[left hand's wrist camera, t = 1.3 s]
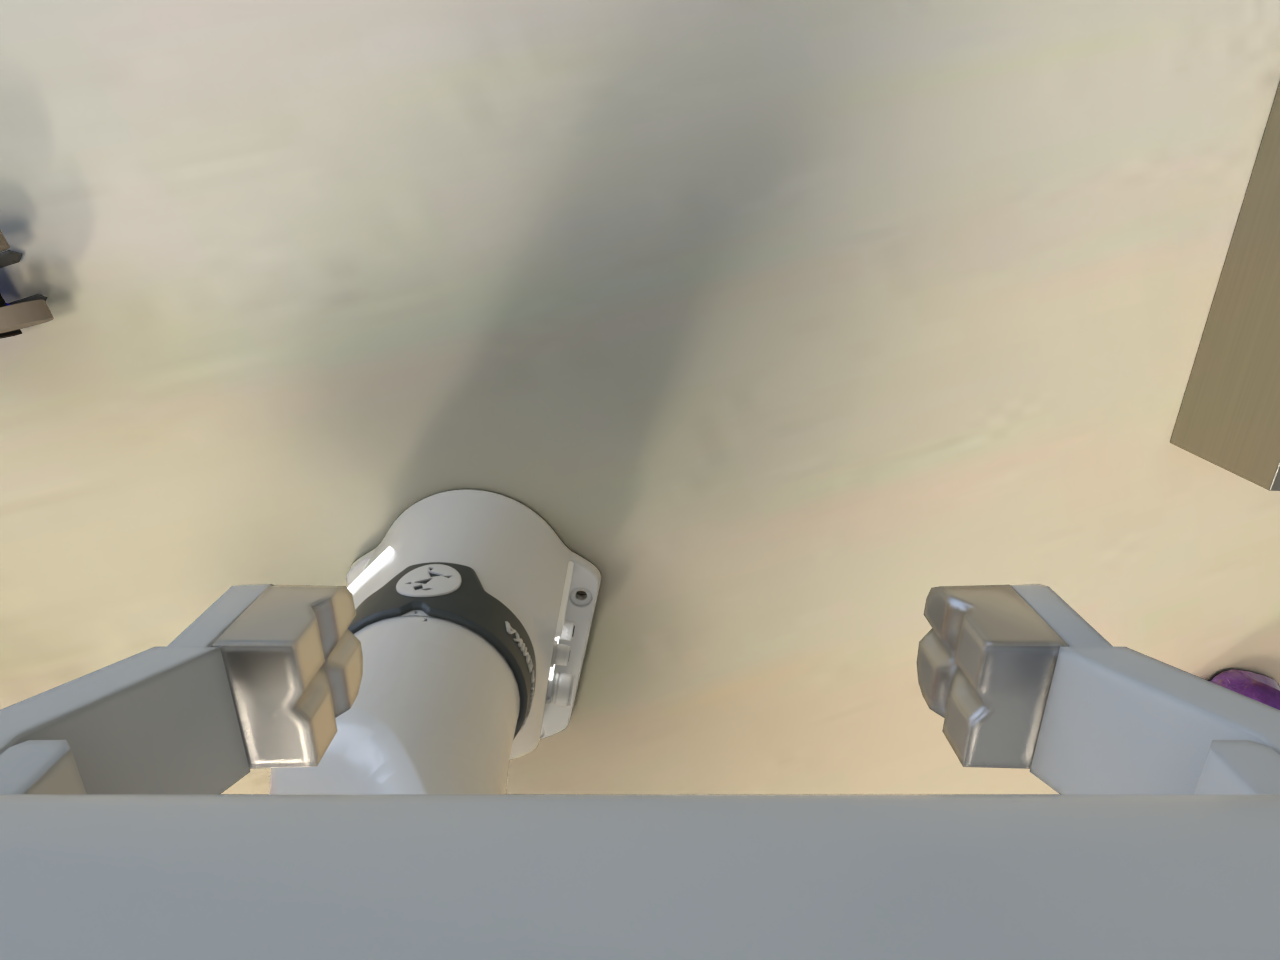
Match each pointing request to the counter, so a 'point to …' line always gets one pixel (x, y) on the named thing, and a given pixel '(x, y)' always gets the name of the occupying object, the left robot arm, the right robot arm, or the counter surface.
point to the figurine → (1250, 686)
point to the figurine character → (19, 302)
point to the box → (1243, 339)
